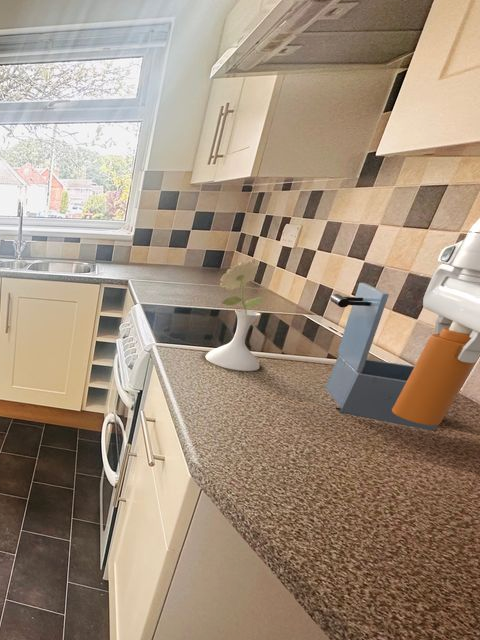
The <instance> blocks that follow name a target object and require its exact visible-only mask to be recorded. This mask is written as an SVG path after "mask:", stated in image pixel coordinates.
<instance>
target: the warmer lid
mask: <svg viewBox="0 0 480 640" xmlns="http://www.w3.org/2000/svg"><path fill="white" fill-rule="evenodd" d="M389 296H390V294H389V293H388V292H385V291H383V290H381V289H379V288H377V287H375V286H372V285H370V284H368V283H366V282H359V283H358V287H357V289H356V293H355V296H343V295H341V294H339V293H333V294H332V295H331V296H330V299H329V300H330V301H331V302H332V303H333V304H335V305H336V306H338V307H340V308H347V307H348V306H351V308H350V312H349V315H348V317H347V321H346V323H345V327H344V330H343V333H342V336H341V340H340V343H339V346H338V349H337V352H336V353H337V354H338V356H339V355H340V356H341V357H342V358H343V359H344V360H345V361H346V362H347V363H349V364H350V365H351V366H352V367H353V368H354V369H355V370H356V371H357V372H362V371H363V368H364V365H365V362H366V359H368V356H369V353H370V350H371V347H372V345H373V342H374V339H375V336H376V333H377V330H378V327H379V324H380V321H381V319H382V315H383V312H384V310H385V307H386V304H387V301H388V299H389Z"/></svg>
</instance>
